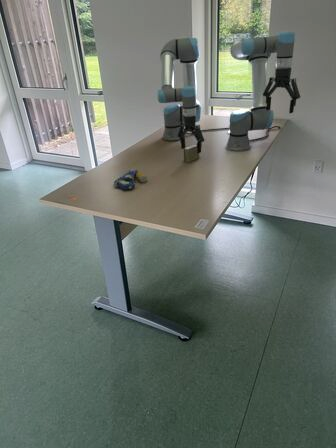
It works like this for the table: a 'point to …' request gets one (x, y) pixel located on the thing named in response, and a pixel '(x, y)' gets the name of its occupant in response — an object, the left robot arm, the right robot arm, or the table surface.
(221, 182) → the table surface
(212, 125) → the table surface
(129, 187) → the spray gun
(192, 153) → the ink box
